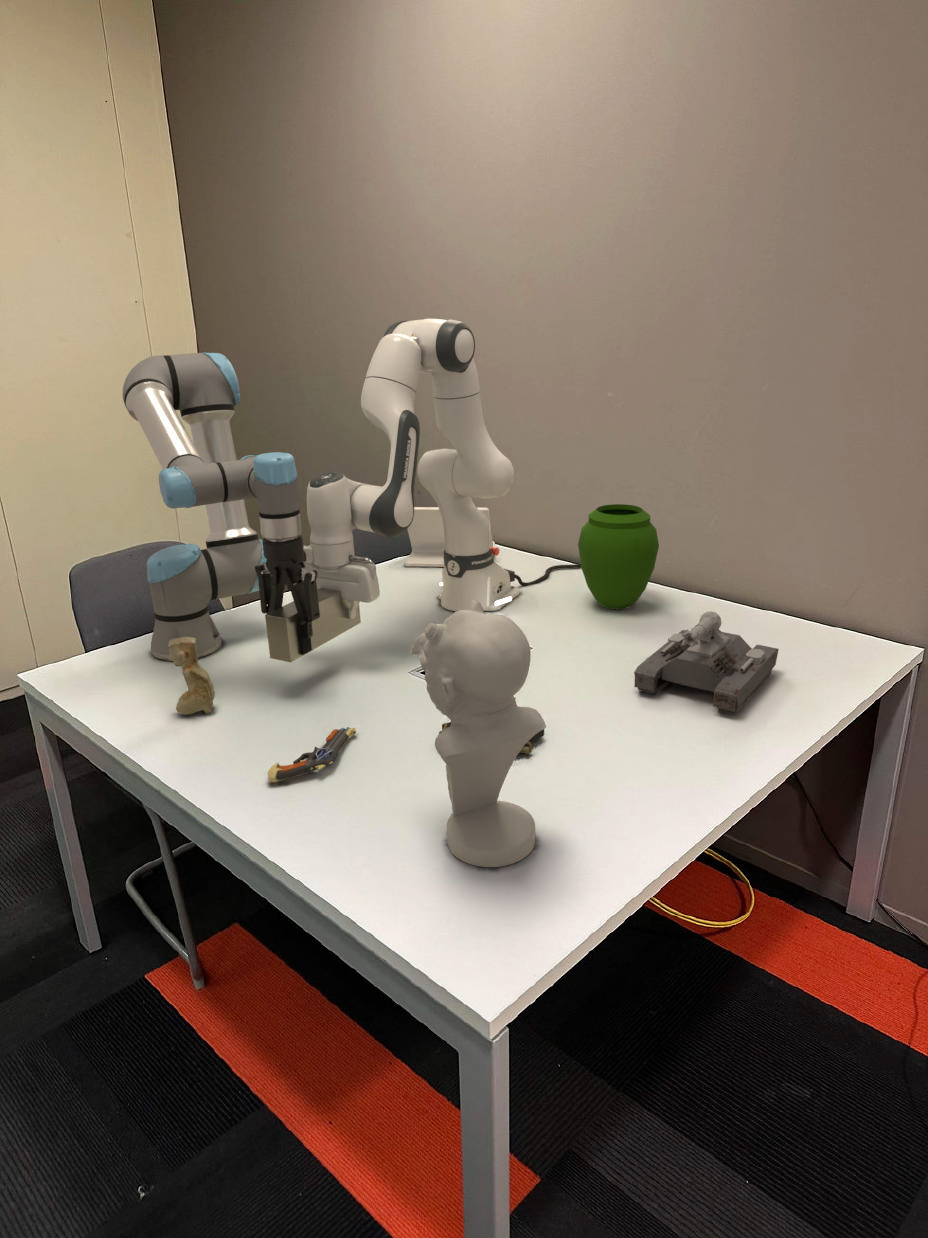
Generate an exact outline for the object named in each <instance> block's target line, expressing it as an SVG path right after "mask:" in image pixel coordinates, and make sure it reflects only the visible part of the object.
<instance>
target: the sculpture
mask: <svg viewBox="0 0 928 1238" xmlns="http://www.w3.org/2000/svg"><path fill="white" fill-rule="evenodd" d="M168 647H169V660H171V661H170V662H173V663H174V666H175V667H181V672H182V673H181V674H182V675H183V679H184V682H185V684H186V687H187V690H186V691H184V693H182V694H181V695H180V696H179V698H178V700H177V703H176V706H175V710H176V711H177V713H178V714H180V715H184V716H185V715H187V716H188V715H192V714H196V713H197V712H200V711H203V712H204V713H205V714H208V713H211V711H212V709H213V705H214V699H215V697H216V690H215V688H214V685H213V682H212V680H211V677H210V674H209V672H208V671H207V670H206V668H205V667H203V666H202V665H201V664H199V662H198V658H197V646H196V638H193V637H181V638H174V639H171V640H170V642H169V645H168Z"/></svg>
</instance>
